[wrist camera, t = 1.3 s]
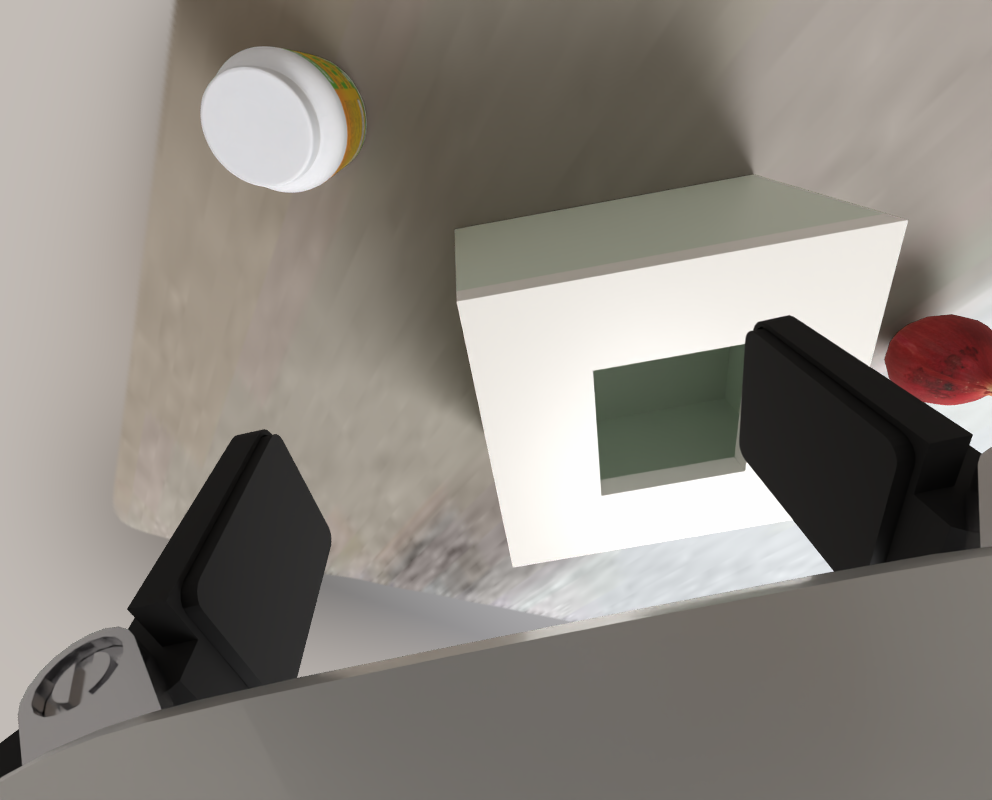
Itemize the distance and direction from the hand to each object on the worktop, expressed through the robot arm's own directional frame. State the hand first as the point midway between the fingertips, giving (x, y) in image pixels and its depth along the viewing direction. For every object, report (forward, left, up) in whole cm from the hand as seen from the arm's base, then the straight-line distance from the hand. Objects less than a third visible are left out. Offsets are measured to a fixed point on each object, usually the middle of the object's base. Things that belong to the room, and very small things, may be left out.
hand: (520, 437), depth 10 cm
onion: (+14, +29, -23) cm, 40 cm away
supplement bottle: (-6, -7, -23) cm, 25 cm away
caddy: (+9, +8, -23) cm, 26 cm away
